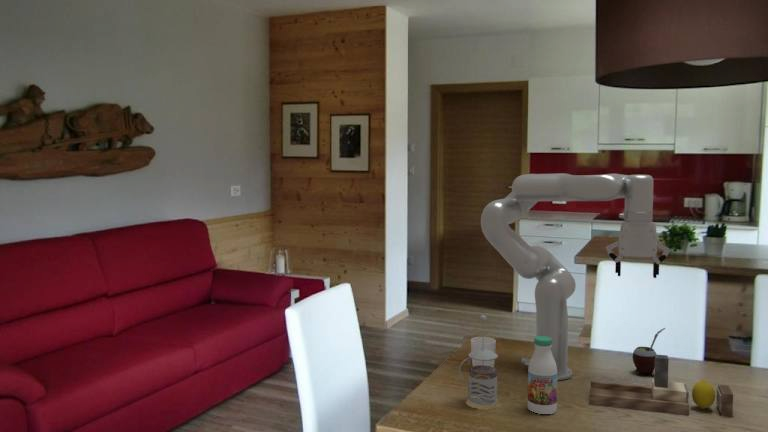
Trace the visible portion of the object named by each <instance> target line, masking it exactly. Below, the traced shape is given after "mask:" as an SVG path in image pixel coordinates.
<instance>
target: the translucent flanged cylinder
mask: <svg viewBox="0 0 768 432" xmlns="http://www.w3.org/2000/svg"><path fill="white" fill-rule="evenodd" d="M496 342H497V341H496V339H494V337H493V338H492V337H489V336H484V349H488V350H491V351H493V352H494V353H496V346H497V343H496ZM470 348H471V349H470V350H471V351H470V352H472V351H474V350H477V349H483V336H476V337H472V338H471V339H470ZM495 361H496V359H495V360H492V361H484V366H490V367H493V368H495ZM471 363H472V364H471V365H472V367H473V366H480V365H483V361H479V360H474V359H471Z"/></svg>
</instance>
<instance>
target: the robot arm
mask: <svg viewBox="0 0 768 432" xmlns="http://www.w3.org/2000/svg"><path fill="white" fill-rule="evenodd" d="M617 199H624V211H623V212H622V213H621V212H619V214H618V218H620V219H623V220H624V221H622V222H621V224H620V230H619V236H618V241H616V242H613V243H611V244H609V245H606V246H605V250H606V252H607V254H608V256H609V257H610V258H611V259H612V260H613V261H614V262H615V269H614V271H615V274H617V277H621V272H622V271H621V268H622V267H621V266H622V265H621V264H622V262H621V260H622V259H623V258H638V259H642V258H643V259H652V260H653V266H652V277H653V279H657V276H659V275H660V274H659V273H660V264H661V263H663V261H665V260H667V257H668V255H669V254H670V252H671V249H670V248H669V247H667V246H666V245H663V244H661V243H659V242H658V238H657V237H658V233H657V226H656V223H655V222H654V221H653V213H654V212H653V211H654V178H653V176H652V175H650V174H630V175H628V174H621V173H620V174H619V173H606V174H587V175H585V174H584V175H576V174H570V173H565V172H564V173H529V174H527V173H525V174H521V175H519V176H517V177H516V178H514V180H513V181H512V185H511V192H509V194H508V195H507V196H505V197H504V198H501V199H496V200H493V201H491V202H489V203H487V205H486V206H485V207H484V208H483V210H482V213H481V217H480V227H481V231H482V234H483V236H484V237H485V238H486V240H487V242H488V243H489V244H491V246H492V247H493V248H494V249H495V250H496V251H497V252H498V253H499V255H500V256H502V258H503V259H504V260H505V261H506V262H507V263H508V264H509V265H510V267H512V269H513V270H514V271H515V272H516V273H517V274H518V275H519V276H520V277H522V278H523V279H527V280H531V279H534V278H536V280H537V281H538V282H537V283H536V285H535V288H534V300H535V301H534V302H535V315H536V318H535V319H536V320H535V321H536V323H535V325H536V329H535V330H536V333H535V334H536V336H535V337H537V336H547V337H550V338H551V339H552V347H551V352H552V355H553V358H554V360H555V362H556V366H557V381H563V380H569V379H571V378H572V376H573V370H572V369H571V368H569V367H568V350H569V349H568V346H569V344H568V343H569V340H568V338H569V331H568V330H569V315H568V314H569V313H568V306H567V304H568V302H567V300H568V299H569V298H570V297H571V296H572V295H574V293H575V290H576V280H575V278H574V277H573V275H572V273H571V272H570V271H568V269H567V268H566V267H565V266H564V265H563V264H562V263H561V262H560V261H559V260H558V259H557V258H556V257H555V256H554V255H553V253H551V252H550V251H549V250H548V249H546V248H545V247H543V246H539V245H532V246H530V244H529V243H527V242H526V241H525V240H524V239H523V238H522V236H521V235H520V234H518V232H516V231H515V230H514V229H513V228H511V227H510V226H509V225H510V224H514V223H515V222H518V221H519V220H521V218H523V217H524V216H525V214H527V212H528V211H530V210H531V209H532V208H533V207H534V206H535V205H536V204H537V203H538V202H609V201H610V202H611V201H613V200H617ZM617 247H618V254H617V255H616V254H615V253H614V251H613V249H615V248H617ZM658 249H659V250H661V251H663V252H662V254H661V255H660V256H659V257H658V256H657V253H658ZM530 360H531V358H524V357H521V365H524V367H529V363H530Z"/></svg>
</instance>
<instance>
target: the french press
mask: <svg viewBox="0 0 768 432" xmlns="http://www.w3.org/2000/svg"><path fill="white" fill-rule="evenodd" d="M487 317H488V316H486V315H484V314H481V315H480V316H479V320H480V321H482V337H483V349H477V350H474V351H472V352H471V351H470V352H469V353H468V357H467V358H465V359H463V360H462V361H461V363H460V365H459V368H458V378H459V379H460V381H461V382H462V383H463V384H464V385H466V386H467V387H468V397H467V400H468V399H469V400H470V401H471V402H473V403H476V404H479V405H491V404H495V403H496V402H497V400H498V373H496V372H497V368H496V367H494V368H493V367H490V366H484V361H492V360H495V361H496V360H497V359H498V358H499V354H497V353H496V352H495V353H494V352H493V351H491V350H488V349H484V337H485V336H484V335H485V333H484V332H485V331H484V322H485V321H487ZM472 359H474V360H479V361H483V365H480V366H473V365H472V366H471V367H470V368H469V371H470V372H469V375H468V378H469V379H468V381H469V382H468V381H467V380H466V379H465V378H463V376H462V369H461V367H462V365H463V364H464V362H467V363H468V365H470V364H471V360H472ZM486 376H487V377H486ZM488 377H489V378H488ZM479 394H484V395H479ZM471 396H478V397H479V398H480V399H481V400H480V399H478V398H471Z"/></svg>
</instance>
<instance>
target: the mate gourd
mask: <svg viewBox="0 0 768 432" xmlns="http://www.w3.org/2000/svg"><path fill="white" fill-rule="evenodd" d="M665 329H666V327H663V328H662V329H660V330H658V331H657V332H656V333H655V335H654V338H653V340H652V342H651V344H650V347H648V346H637V347H636V348H635V349H634V350H633V353H632V363H633V365H634V366H635V368H636V369H635V372H636V373H637V374H636V376H638V377H641V376H648V377H650V378H651V377H652V378H654V371H655V354H656V355H658V354H657V352H656V351H655V349H654V348H653V347H654V344H655V342H656V340H657V338H658V336H659V334H661V333H662V332H663V331H664V330H665Z"/></svg>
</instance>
